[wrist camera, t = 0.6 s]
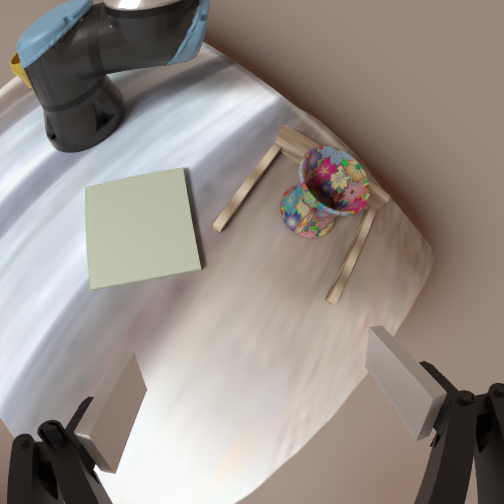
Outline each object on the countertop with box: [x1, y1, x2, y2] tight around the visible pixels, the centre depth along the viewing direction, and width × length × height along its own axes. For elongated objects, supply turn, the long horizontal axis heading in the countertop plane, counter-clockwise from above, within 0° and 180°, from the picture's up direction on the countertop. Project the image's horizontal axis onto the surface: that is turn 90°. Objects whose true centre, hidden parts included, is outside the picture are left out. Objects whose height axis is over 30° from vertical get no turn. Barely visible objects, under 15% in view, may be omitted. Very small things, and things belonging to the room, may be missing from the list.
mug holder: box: [213, 125, 390, 304], centre depth 38 cm, size 18×19×5 cm
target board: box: [85, 168, 201, 291], centre depth 36 cm, size 15×15×1 cm
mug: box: [280, 146, 370, 238], centre depth 36 cm, size 12×9×11 cm
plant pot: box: [10, 52, 33, 89], centre depth 36 cm, size 10×10×10 cm
